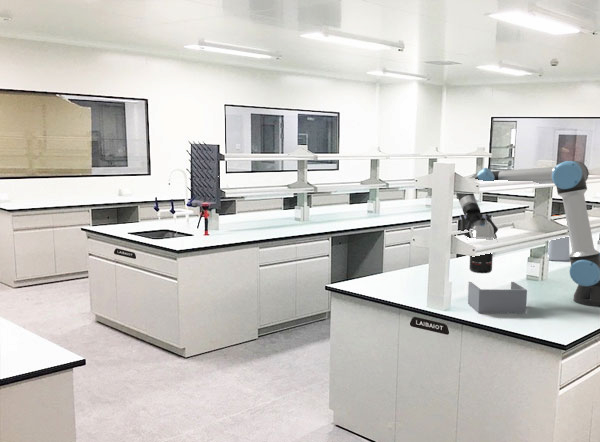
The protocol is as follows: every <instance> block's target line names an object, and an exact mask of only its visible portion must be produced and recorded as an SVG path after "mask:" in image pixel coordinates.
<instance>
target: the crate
mask: <svg viewBox="0 0 600 442" xmlns="http://www.w3.org/2000/svg"><path fill="white" fill-rule="evenodd" d="M467 285H468V286H467V289H468V292H467V304H468V305H469V306H470V307H471V308H472V309H473V310H474V311H475V312H476V313H478V314H526V313H527V300H528V297H527V296H528V290H527V289H526V288H524V287H523V286H522V285H519V284H518V283H516V282H514V281H511V283H510V289H509V288H508V289H504V288H503V289H499V288H498V289H487V288H485V289H484V288H483V289H481V288H480V287H479V286H477V284H475V283H473V282H472V281H468V284H467Z"/></svg>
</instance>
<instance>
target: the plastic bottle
mask: <svg viewBox="0 0 600 442" xmlns="http://www.w3.org/2000/svg"><path fill="white" fill-rule="evenodd" d="M552 216H561V214H560V215H557V214H556V215H555V214H554V215H552ZM570 254H571V252H570V236H569V237H565V238H560V239H556V240H551V241H550V242H549V248H548V255H549V260H553V261H552V262H568V261H570V257H569V256H570ZM549 260H548V261H549Z"/></svg>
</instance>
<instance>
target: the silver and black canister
mask: <svg viewBox="0 0 600 442" xmlns="http://www.w3.org/2000/svg"><path fill="white" fill-rule="evenodd" d="M471 229H473V230H471ZM470 232H471V233H472V235H473V238H476V239H486V240H493V238H494V229H493V226H492V225H491V223H490V222H488V221H487V220H486V219H485V218H480V219H479V220H478V221H476V222H475V223H474V224H471V227H470ZM493 256H494V254H491V253H490V254H485V255H480V256H475V257H472V256H470V255H469V270H470V271H471V272H472V273H475V274H489V273H491V272H492V271H493Z"/></svg>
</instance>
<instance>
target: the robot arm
mask: <svg viewBox="0 0 600 442" xmlns="http://www.w3.org/2000/svg"><path fill="white" fill-rule="evenodd" d="M589 174H590V173H589V169H588V167H587V165H586V164H584V163H583V162H581V161H578V160H565V161H562V162H559V163H558V164H556V165H555V166H550V167H547V166H546V167H537V168H536V167H535V168H534V167H533V168H523V169H521V168H520V169H509V170H508V169H507V170H491V169H489V168H488V167H483V168H482V169H480V170H479V171H477V172H476V173H475V174H473V175H472V176H471V177H470V178H475V179H478V180H483V181H494V180H508V181H533V182H536V183H539V184H538V185H544V184H545V185H546V184H548V185H550V184H554V186H556V192H557V195H558V196H559V197H561V199H562V203H563V208H564V215H565V219H566V221H567V225H568V231H569V242H570V246H571V252H570V256H569V257H570V259H569V261H570V267H569V276H570V278H571V279H572V281H573V282H574V283H576V284H577V287H576V289H575V292H574V294H573V301H574V302H575V303H577V304H581V305H586V306H593V307H600V251H598V250H597V249H595V246H594V240H593V236H592V231H591V224H590V218H589V214H588V209H587V208H588V207H587V204H586V203H587V202H586V198H585V193H586V192H587V190H588V187H587V186H588V185H587V181H588V179H589ZM456 196H457V199H458V202H459V205H460V207H461V209H462V213H463V214H460V216H459V220H460V232H461V231H464V230H468V231H469V232H468V233H465V234H463V235H464V236H465V237H466V236H467V237H469V238H473V235H472V233H471V227H472V225H473V224H474V223H475V222H476V221H478V220H479V219H480V218H485V219H486V220H487V221H488V222H490V223H491V225H492V226H493V229H494V239H496V240H497V241H498V239H497V238H498V237H497V234H496V233H497V232H498V231H499V228H498V227H497V225H496V224H495V223H494V222H493V220H492V219H491V218H490V216H489V214H488V213H486V214H482V213H481V209H480V206H479V204H478V201H477V199H476V196H475V194H456ZM466 221H468V222H467V225H466ZM467 237H466V238H467Z"/></svg>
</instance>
